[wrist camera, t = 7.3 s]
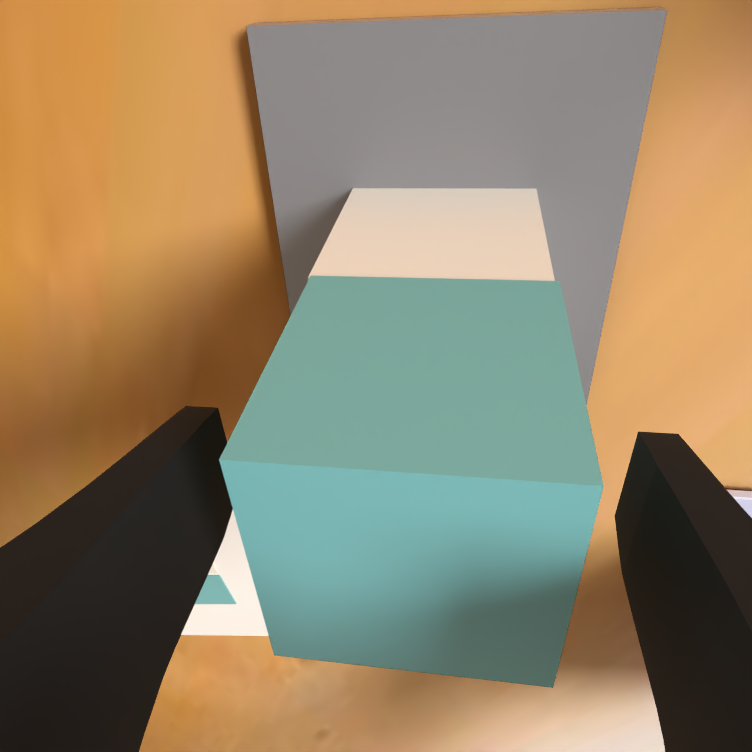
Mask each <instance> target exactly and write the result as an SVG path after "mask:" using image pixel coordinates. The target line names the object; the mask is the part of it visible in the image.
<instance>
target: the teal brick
mask: <svg viewBox="0 0 752 752" xmlns="http://www.w3.org/2000/svg"><path fill="white" fill-rule="evenodd" d="M219 461H220V465H221V469H222V472H223V476H224V479H225V483H226V486H227V490H228V493H229V497H230V500H231V504H232V507H233V511H234V515H235V518H236V522H237V525H238V529H239V532H240V536H241V539H242V543H243V546H244V550H245V554H246V557H247V561H248V564H249V568H250V571H251V575H252V578H253V582H254V585H255V589H256V593H257V596H258V600H259V603H260V607H261V610H262V614H263V617H264V621H265V624H266V628H267V632H268V635H269V639H270V642H271V646H272V649H273V653H274V655H277V656H285V657H294V658H302V659H311V660H320V661H328V662H337V663H346V664H354V665H363V666H371V667H380V668H389V669H397V670H406V671H414V672H423V673H432V674H440V675H449V676H457V677H466V678H475V679H483V680H492V681H500V682H509V683H518V684H526V685H535V686H543V687H552V688H553V686H554V682H555V678H556V674H557V670H558V666H559V662H560V658H561V654H562V650H563V646H564V642H565V638H566V634H567V630H568V626H569V622H570V618H571V614H572V610H573V606H574V602H575V598H576V594H577V590H578V586H579V582H580V578H581V574H582V570H583V566H584V562H585V558H586V554H587V550H588V546H589V542H590V538H591V534H592V530H593V526H594V522H595V518H596V514H597V510H598V506H599V502H600V498H601V494H602V490H603V482H602V477H601V472H600V467H599V463H598V458H597V453H596V449H595V444H594V439H593V435H592V430H591V425H590V420H589V416H588V411H587V406H586V402H585V397H584V392H583V388H582V383H581V378H580V374H579V369H578V364H577V359H576V355H575V350H574V345H573V341H572V336H571V331H570V327H569V322H568V317H567V312H566V308H565V303H564V298H563V294H562V289H561V284H560V281H537V280H491V279H445V278H399V277H353V276H310V278H309V280H308V282H307V284H306V286H305V288H304V290H303V292H302V294H301V296H300V298H299V300H298V302H297V304H296V306H295V308H294V310H293V312H292V314H291V316H290V318H289V320H288V322H287V324H286V326H285V328H284V330H283V332H282V334H281V336H280V338H279V340H278V342H277V344H276V346H275V348H274V350H273V352H272V354H271V356H270V358H269V360H268V362H267V364H266V366H265V368H264V370H263V372H262V374H261V376H260V378H259V380H258V382H257V384H256V386H255V388H254V390H253V392H252V395H251V397H250V399H249V401H248V403H247V405H246V407H245V409H244V411H243V413H242V415H241V417H240V419H239V421H238V423H237V425H236V427H235V429H234V431H233V433H232V435H231V437H230V439H229V441H228V443H227V445H226V447H225V449H224V451H223V453H222V455H221V457H220V459H219Z"/></svg>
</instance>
